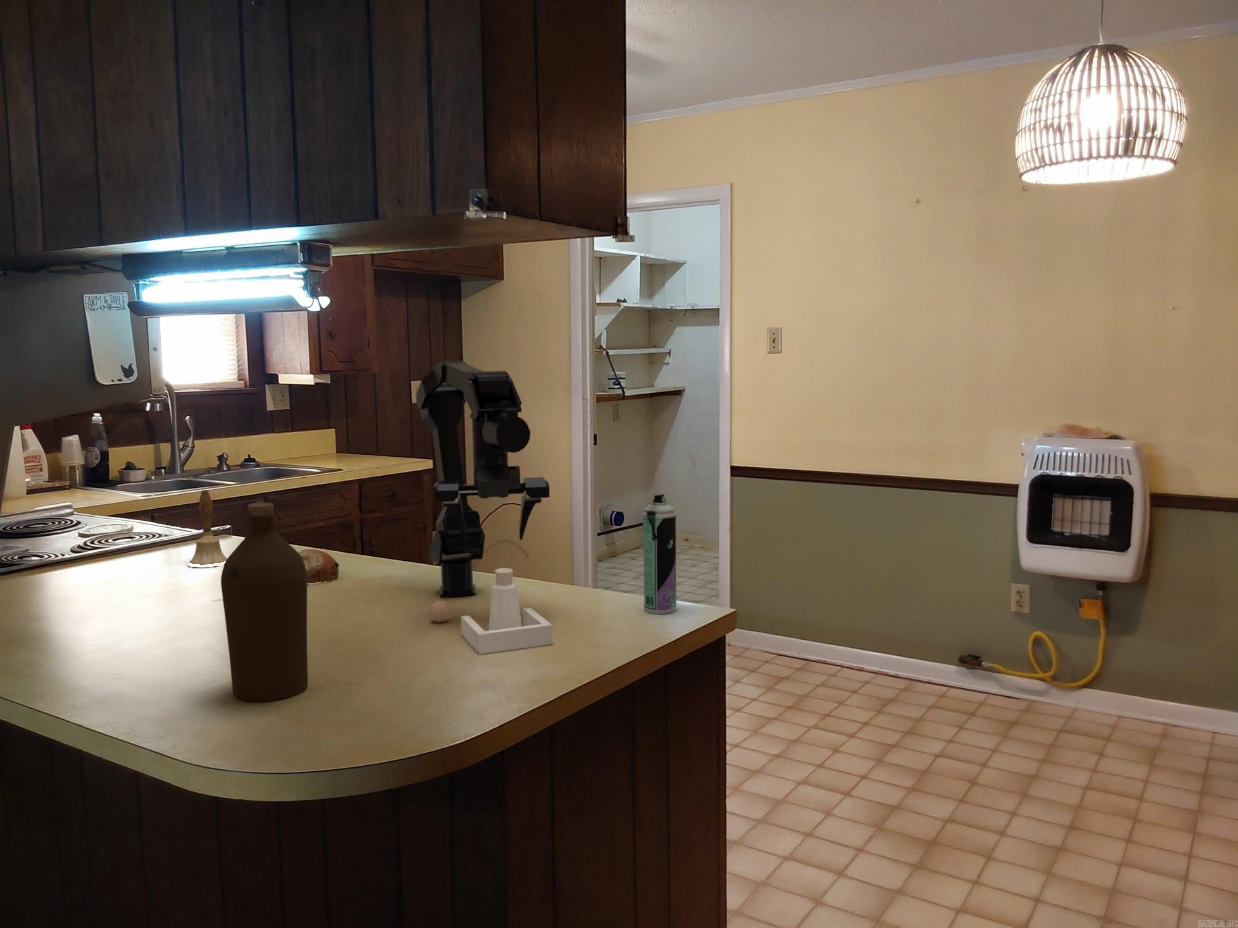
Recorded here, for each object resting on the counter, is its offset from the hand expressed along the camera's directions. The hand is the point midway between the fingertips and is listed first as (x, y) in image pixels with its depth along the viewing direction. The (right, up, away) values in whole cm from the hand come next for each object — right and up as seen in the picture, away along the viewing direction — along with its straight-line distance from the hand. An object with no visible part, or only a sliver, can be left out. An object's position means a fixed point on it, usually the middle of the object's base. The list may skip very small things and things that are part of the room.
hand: (493, 540), depth 160 cm
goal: (+3, -14, -11) cm, 18 cm away
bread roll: (-40, -10, +30) cm, 51 cm away
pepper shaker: (+3, -15, -11) cm, 18 cm away
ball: (-9, -13, -1) cm, 16 cm away
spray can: (+28, -12, +4) cm, 31 cm away
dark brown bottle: (-25, -17, -32) cm, 45 cm away
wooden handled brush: (-67, -9, +45) cm, 81 cm away
